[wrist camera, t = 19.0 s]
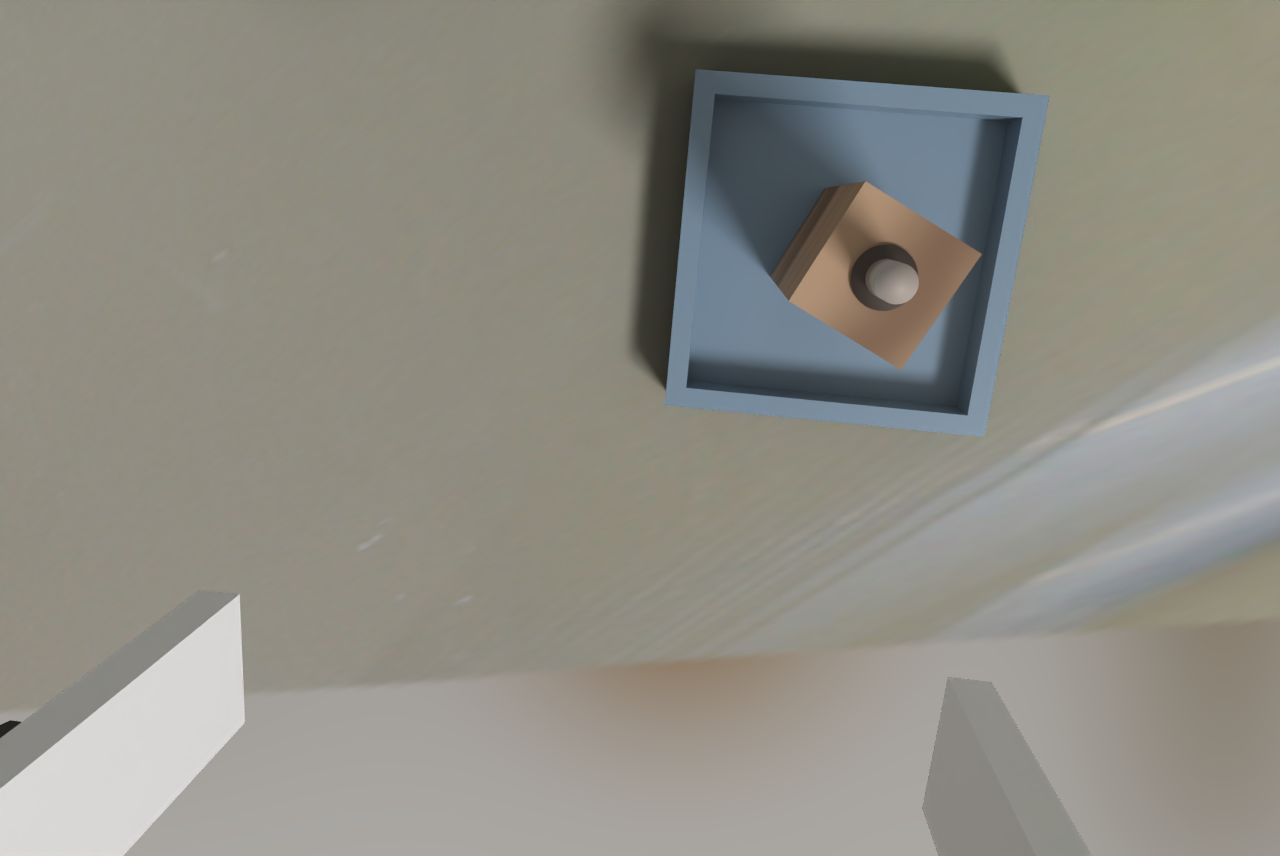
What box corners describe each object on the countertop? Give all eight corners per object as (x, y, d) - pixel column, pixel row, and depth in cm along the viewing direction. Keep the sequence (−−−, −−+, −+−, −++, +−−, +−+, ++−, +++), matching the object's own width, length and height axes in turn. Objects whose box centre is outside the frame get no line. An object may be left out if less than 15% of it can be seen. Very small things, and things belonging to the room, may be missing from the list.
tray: (667, 392, 47) (664, 405, 44) (697, 78, 43) (695, 69, 40) (967, 422, 46) (984, 436, 43) (1026, 103, 42) (1049, 95, 39)
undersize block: (769, 276, 44) (794, 308, 30) (824, 188, 42) (878, 179, 28) (852, 327, 44) (915, 383, 30) (909, 241, 43) (1004, 257, 29)
